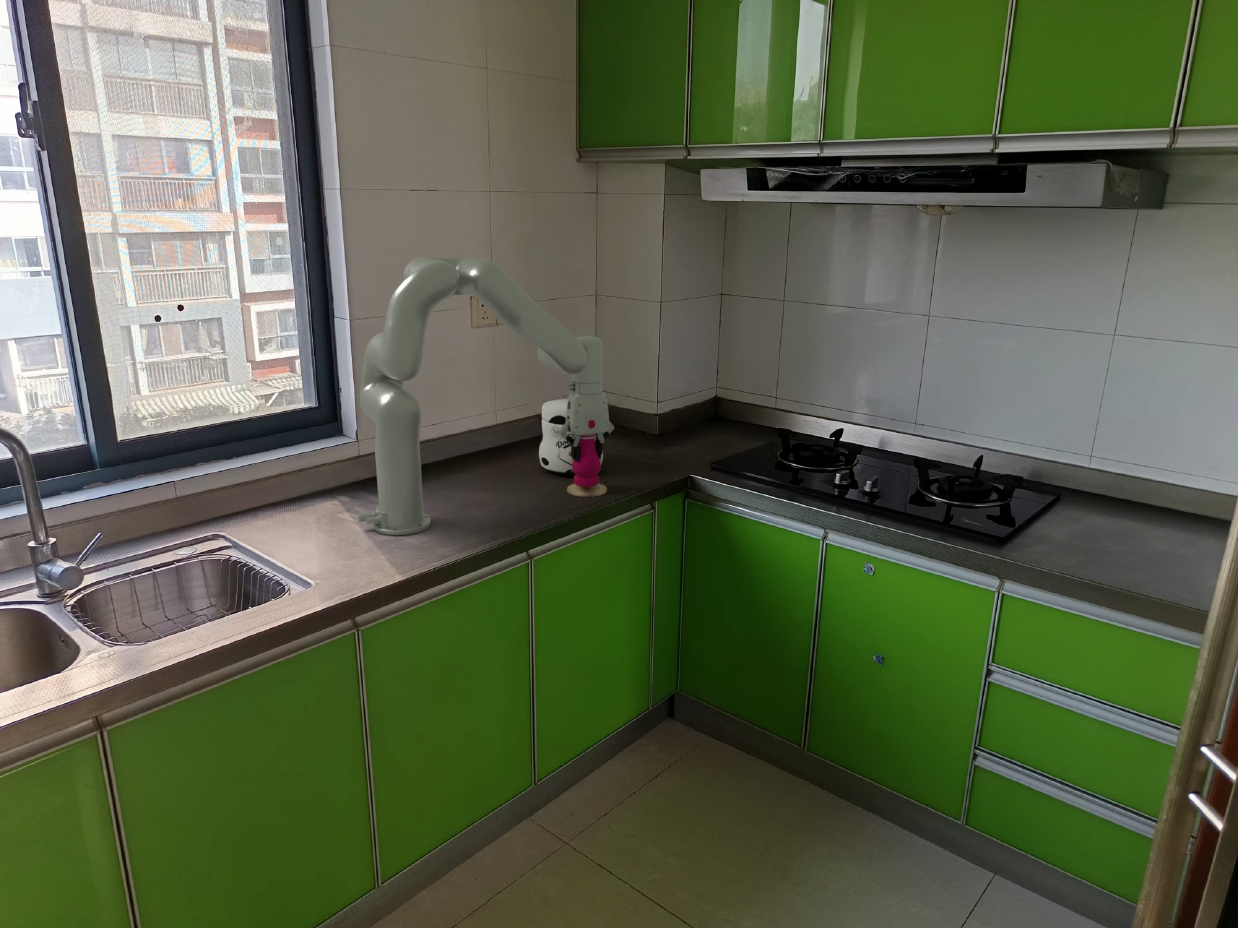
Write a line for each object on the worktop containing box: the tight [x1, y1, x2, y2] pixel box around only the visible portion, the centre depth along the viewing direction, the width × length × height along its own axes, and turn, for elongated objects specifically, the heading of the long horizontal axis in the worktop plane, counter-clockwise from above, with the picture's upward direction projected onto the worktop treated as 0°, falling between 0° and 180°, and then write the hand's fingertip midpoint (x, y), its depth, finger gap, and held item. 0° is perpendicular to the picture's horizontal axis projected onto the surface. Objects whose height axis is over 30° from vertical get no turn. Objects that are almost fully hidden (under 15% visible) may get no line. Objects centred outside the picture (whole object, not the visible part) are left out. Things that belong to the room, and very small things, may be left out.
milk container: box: [538, 398, 604, 476], centre depth 239 cm, size 17×17×18 cm
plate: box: [566, 483, 608, 498], centre depth 224 cm, size 10×10×1 cm
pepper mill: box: [572, 420, 602, 487], centre depth 221 cm, size 7×7×20 cm
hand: (586, 458), depth 222 cm, fingers closed on pepper mill, 5 cm apart
